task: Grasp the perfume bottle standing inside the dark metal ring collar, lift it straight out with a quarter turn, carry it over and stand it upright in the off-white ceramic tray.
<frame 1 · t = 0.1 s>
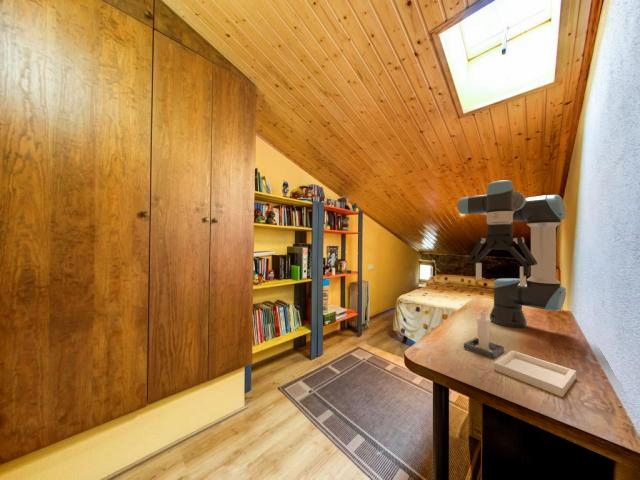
hand: (499, 282, 83), 28 cm above the table, fingers open, 13 cm apart
tray: (533, 373, 74), on the table
ring collar: (483, 350, 90), on the table
perfume bottle: (483, 350, 90), resting in ring collar
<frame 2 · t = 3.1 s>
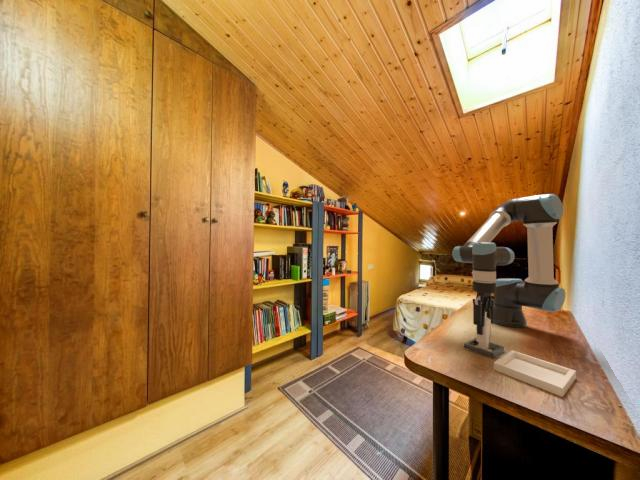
hand: (483, 340, 90), 4 cm above the table, fingers closed on perfume bottle, 4 cm apart
perfume bottle: (483, 350, 90), resting in ring collar, touching gripper
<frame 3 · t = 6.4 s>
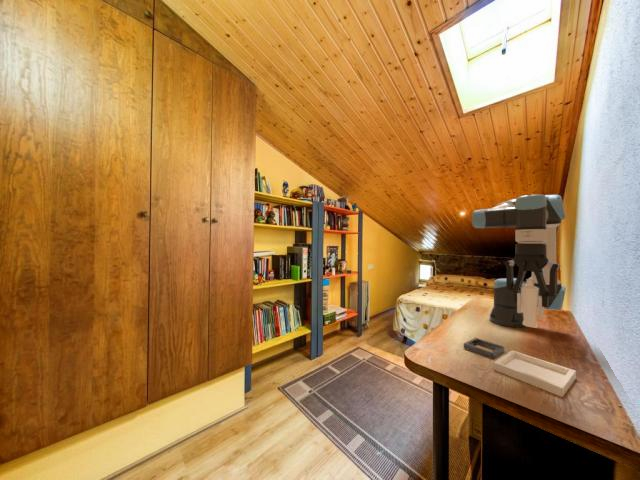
hand: (530, 314, 75), 19 cm above the table, fingers closed on perfume bottle, 4 cm apart
perfume bottle: (531, 326, 75), point 15 cm above the table, touching gripper
when the fingers open (5 cm above the table, at t = 9.7 s): perfume bottle stays where it is, resting on tray.
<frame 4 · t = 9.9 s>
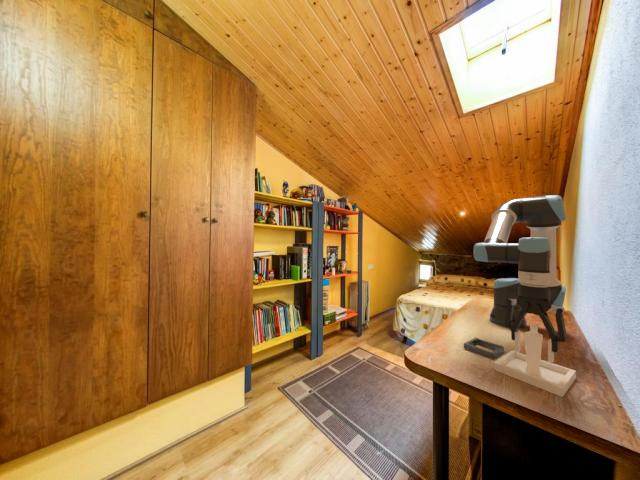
hand: (533, 355, 74), 6 cm above the table, fingers open, 7 cm apart
perfume bottle: (534, 372, 74), resting on tray
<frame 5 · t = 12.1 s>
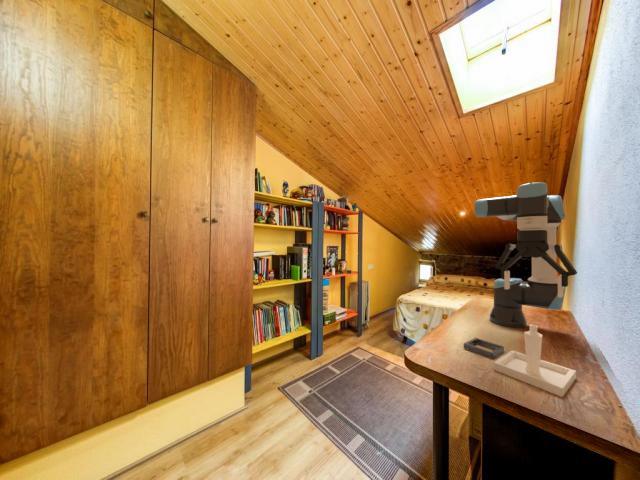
hand: (531, 292, 78), 25 cm above the table, fingers open, 13 cm apart
nothing on the table moved.
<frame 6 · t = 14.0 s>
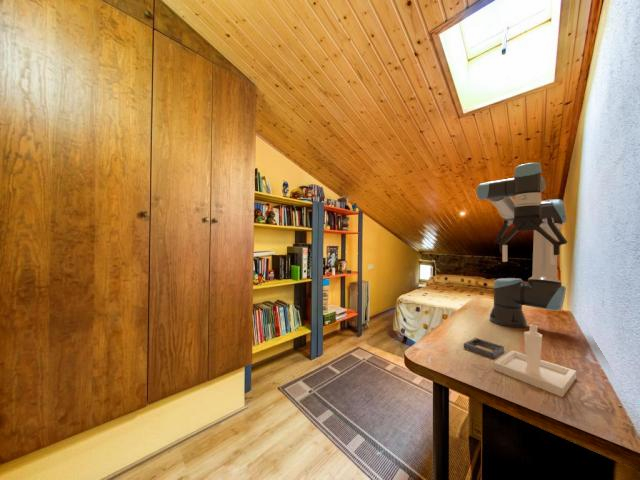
hand: (527, 263, 85), 35 cm above the table, fingers open, 13 cm apart
nothing on the table moved.
at the end: perfume bottle inside the target area on the tray (0.2 cm from its centre), point 0.4 cm above the tray's base; perfume bottle tilted 0°; the gripper is holding nothing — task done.
